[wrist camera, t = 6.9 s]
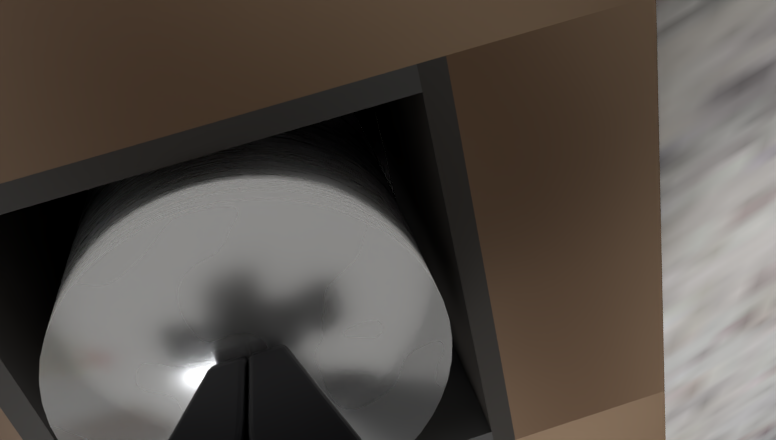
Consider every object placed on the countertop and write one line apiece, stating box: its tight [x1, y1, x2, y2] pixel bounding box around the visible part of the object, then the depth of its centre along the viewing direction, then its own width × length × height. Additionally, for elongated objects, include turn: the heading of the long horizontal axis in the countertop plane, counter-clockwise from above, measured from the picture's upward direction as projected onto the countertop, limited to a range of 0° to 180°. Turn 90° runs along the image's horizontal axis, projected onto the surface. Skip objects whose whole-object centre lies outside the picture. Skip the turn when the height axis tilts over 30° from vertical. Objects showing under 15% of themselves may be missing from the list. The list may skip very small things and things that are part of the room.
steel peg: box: [39, 113, 452, 440], centre depth 10 cm, size 4×4×5 cm
